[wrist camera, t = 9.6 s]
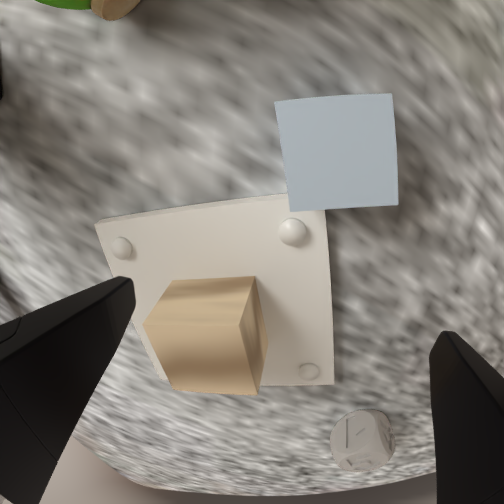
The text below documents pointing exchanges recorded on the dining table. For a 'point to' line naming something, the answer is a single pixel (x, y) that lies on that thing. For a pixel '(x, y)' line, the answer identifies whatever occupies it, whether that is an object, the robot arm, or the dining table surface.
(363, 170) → the slate brick
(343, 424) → the die
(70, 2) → the toy lion
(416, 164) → the dining table surface
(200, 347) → the maple brick
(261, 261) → the building plate
